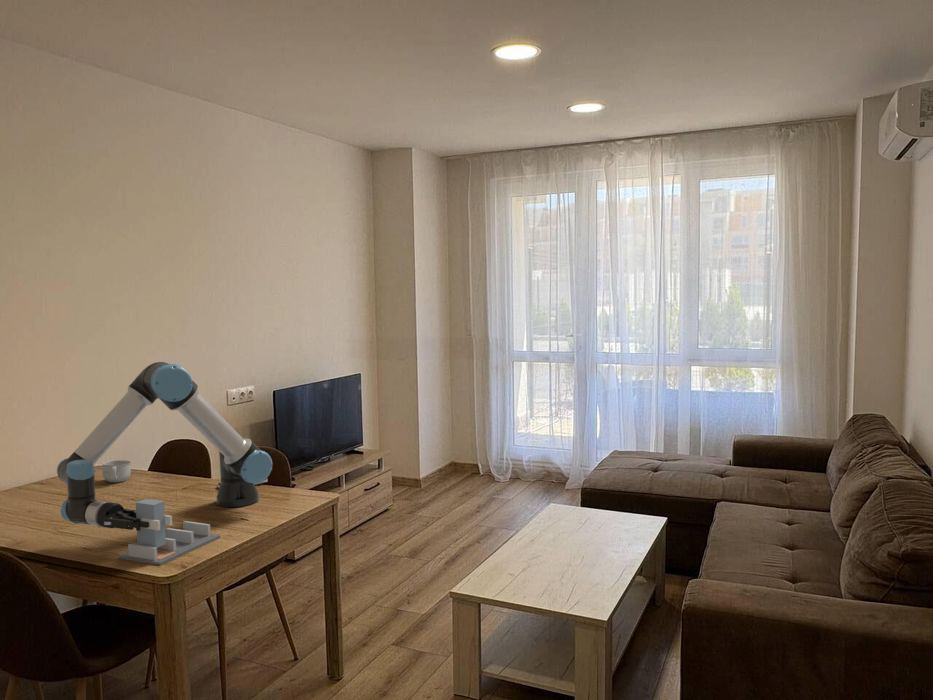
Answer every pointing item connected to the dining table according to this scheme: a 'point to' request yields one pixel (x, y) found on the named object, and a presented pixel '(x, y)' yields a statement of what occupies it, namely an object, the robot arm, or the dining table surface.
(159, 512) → the tall grey pillar
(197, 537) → the rack
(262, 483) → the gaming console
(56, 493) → the dining table surface
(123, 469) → the teacup
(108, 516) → the robot arm
